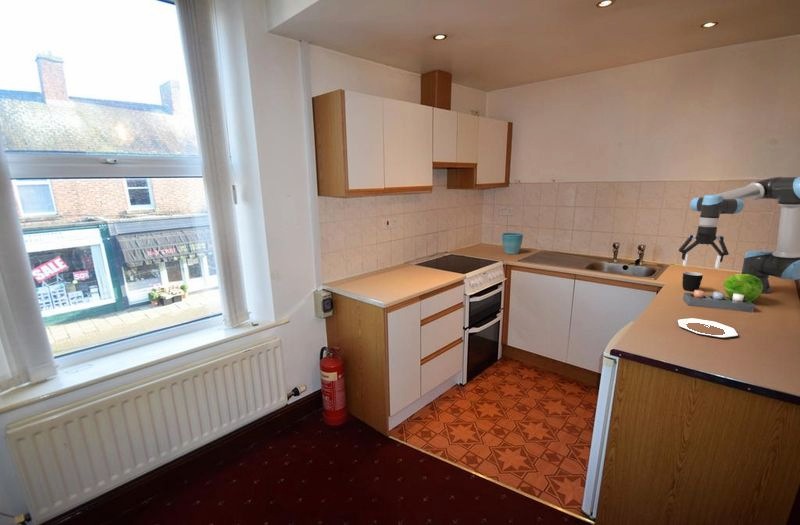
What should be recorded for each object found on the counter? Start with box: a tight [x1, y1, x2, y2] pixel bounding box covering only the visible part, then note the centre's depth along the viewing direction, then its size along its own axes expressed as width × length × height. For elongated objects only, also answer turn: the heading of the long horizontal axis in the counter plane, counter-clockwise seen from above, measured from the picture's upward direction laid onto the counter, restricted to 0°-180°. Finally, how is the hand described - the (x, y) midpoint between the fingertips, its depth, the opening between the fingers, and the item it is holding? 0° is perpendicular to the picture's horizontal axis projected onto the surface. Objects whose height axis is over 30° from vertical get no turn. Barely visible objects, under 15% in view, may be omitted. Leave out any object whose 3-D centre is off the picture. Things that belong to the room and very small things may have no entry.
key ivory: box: [732, 293, 744, 302], centre depth 185 cm, size 4×4×4 cm
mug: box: [681, 271, 704, 293], centre depth 216 cm, size 12×9×10 cm
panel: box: [682, 292, 755, 313], centre depth 189 cm, size 26×10×4 cm, turn 66°
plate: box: [677, 317, 739, 339], centre depth 161 cm, size 20×20×2 cm
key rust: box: [693, 289, 705, 298], centre depth 192 cm, size 4×4×4 cm
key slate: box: [712, 291, 725, 300], centre depth 188 cm, size 4×4×4 cm
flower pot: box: [501, 232, 524, 255], centre depth 324 cm, size 18×18×17 cm
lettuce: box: [722, 273, 763, 302], centre depth 196 cm, size 15×23×16 cm
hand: (700, 266), depth 190 cm, fingers open, 13 cm apart
